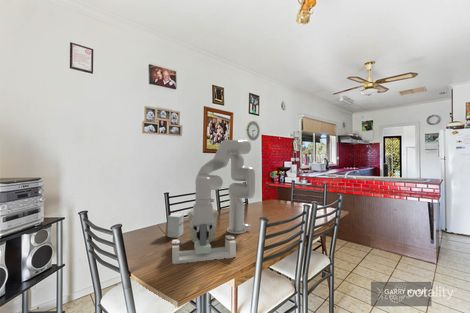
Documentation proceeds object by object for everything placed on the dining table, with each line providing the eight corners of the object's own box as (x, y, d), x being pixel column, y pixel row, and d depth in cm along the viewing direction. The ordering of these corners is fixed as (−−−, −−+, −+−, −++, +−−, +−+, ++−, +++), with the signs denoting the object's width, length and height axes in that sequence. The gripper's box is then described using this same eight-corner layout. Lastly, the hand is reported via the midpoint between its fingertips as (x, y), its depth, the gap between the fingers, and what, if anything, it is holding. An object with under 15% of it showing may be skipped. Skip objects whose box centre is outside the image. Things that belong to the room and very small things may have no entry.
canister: (224, 241, 134) (225, 205, 134) (199, 250, 121) (199, 210, 121) (205, 233, 147) (205, 200, 147) (180, 240, 134) (181, 204, 134)
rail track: (232, 249, 123) (232, 233, 123) (237, 257, 113) (237, 240, 113) (170, 255, 115) (170, 238, 115) (170, 264, 105) (170, 246, 105)
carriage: (208, 245, 119) (208, 220, 119) (211, 252, 110) (211, 225, 110) (194, 246, 117) (194, 221, 117) (196, 254, 109) (196, 226, 109)
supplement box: (178, 238, 138) (178, 217, 138) (167, 237, 140) (167, 216, 140) (183, 234, 145) (183, 213, 145) (172, 233, 147) (173, 213, 147)
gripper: (218, 199, 119) (217, 235, 120) (185, 200, 115) (185, 237, 115) (221, 202, 112) (220, 240, 112) (186, 204, 108) (186, 243, 108)
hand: (202, 238), depth 114 cm, fingers closed on carriage, 3 cm apart
